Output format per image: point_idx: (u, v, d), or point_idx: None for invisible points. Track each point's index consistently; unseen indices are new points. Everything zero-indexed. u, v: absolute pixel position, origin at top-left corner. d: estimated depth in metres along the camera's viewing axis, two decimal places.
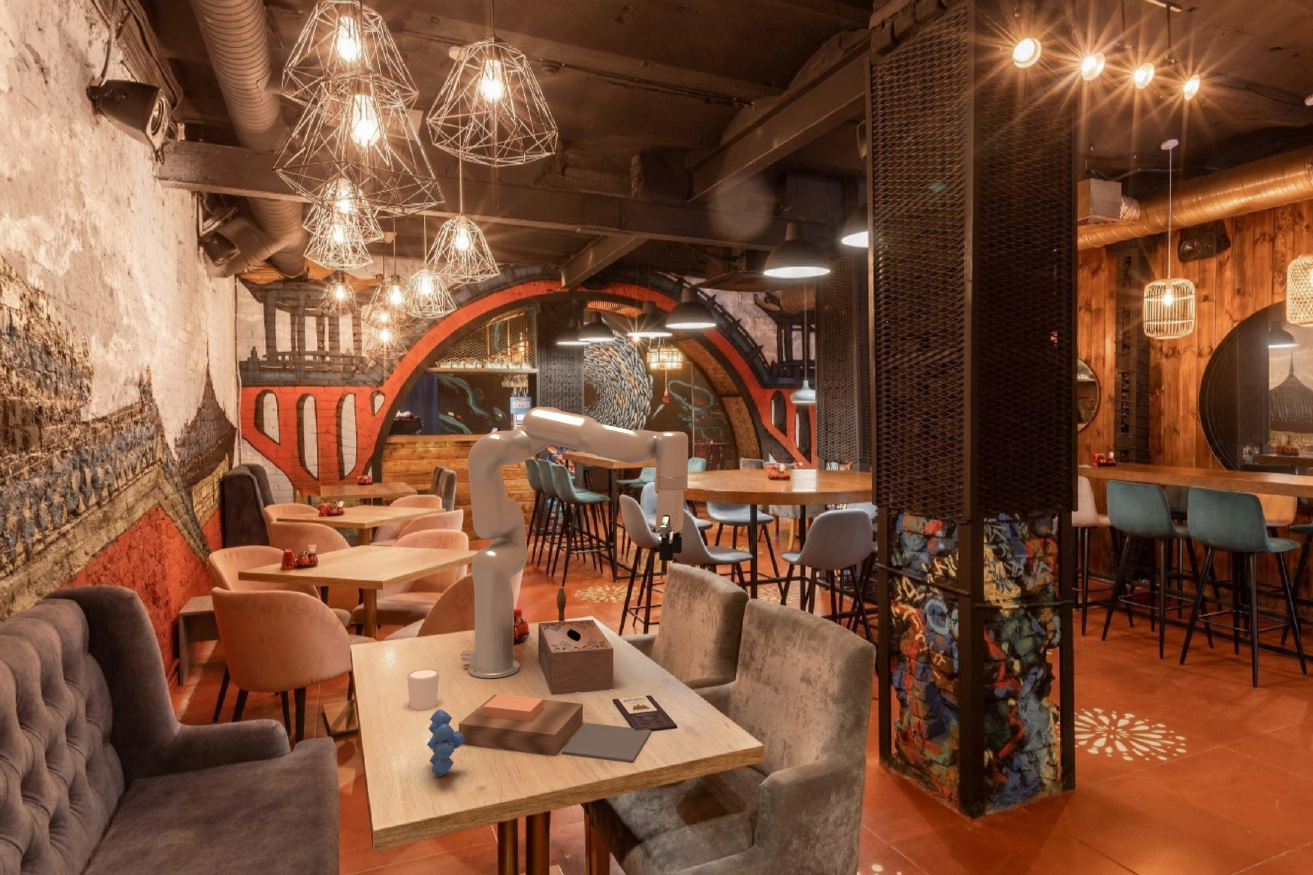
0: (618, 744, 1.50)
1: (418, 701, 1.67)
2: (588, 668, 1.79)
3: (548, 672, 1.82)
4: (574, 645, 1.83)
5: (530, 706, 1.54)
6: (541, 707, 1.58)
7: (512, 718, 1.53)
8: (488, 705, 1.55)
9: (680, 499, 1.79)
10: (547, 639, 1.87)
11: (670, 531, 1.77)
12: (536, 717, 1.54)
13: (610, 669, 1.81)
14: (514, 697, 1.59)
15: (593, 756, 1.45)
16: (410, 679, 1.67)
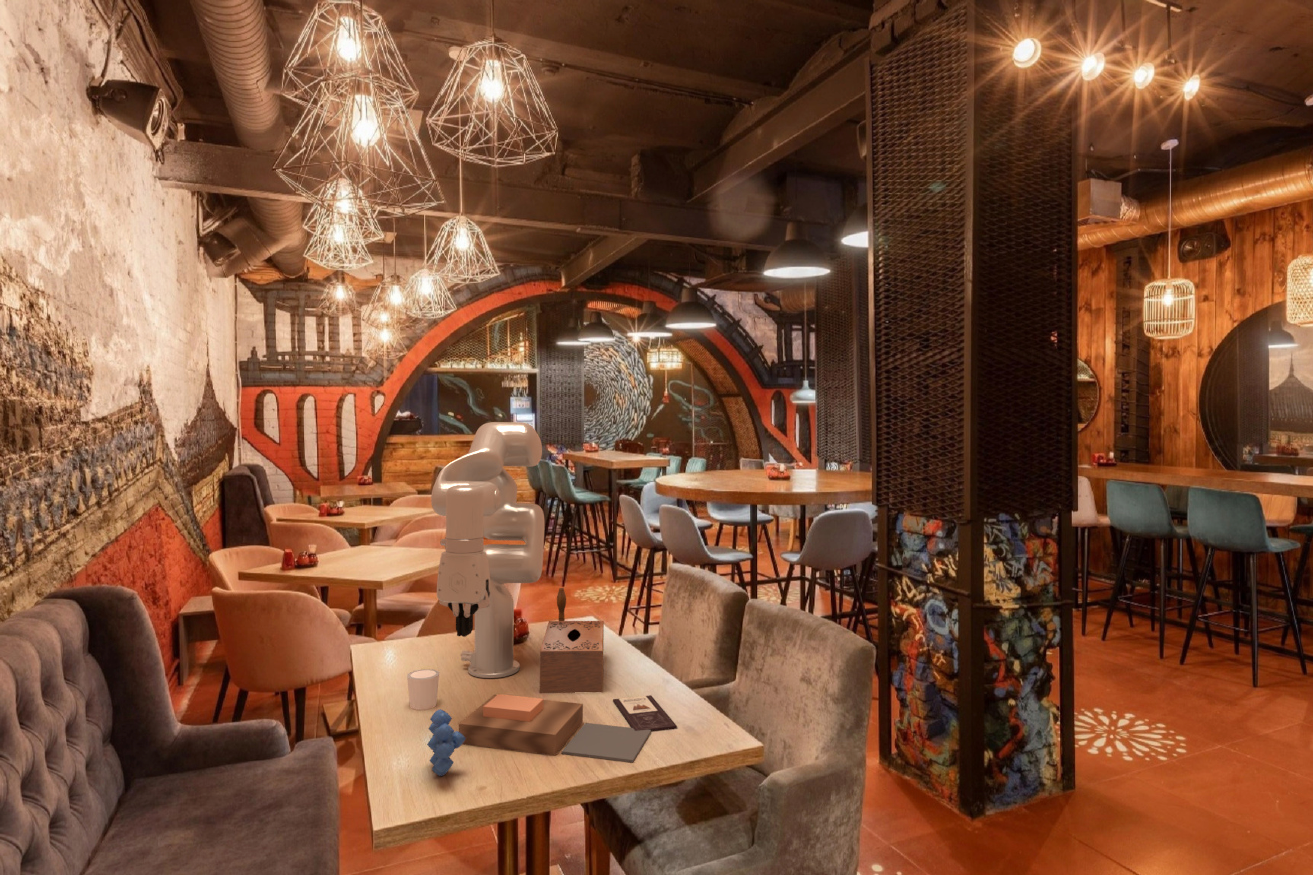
0: (618, 744, 1.50)
1: (418, 701, 1.67)
2: (577, 668, 1.79)
3: None
4: (566, 645, 1.83)
5: (530, 706, 1.54)
6: (541, 707, 1.58)
7: (512, 718, 1.53)
8: (488, 705, 1.55)
9: None
10: (545, 637, 1.89)
11: None
12: (536, 717, 1.54)
13: (599, 671, 1.79)
14: (514, 697, 1.59)
15: (593, 756, 1.45)
16: (410, 679, 1.67)
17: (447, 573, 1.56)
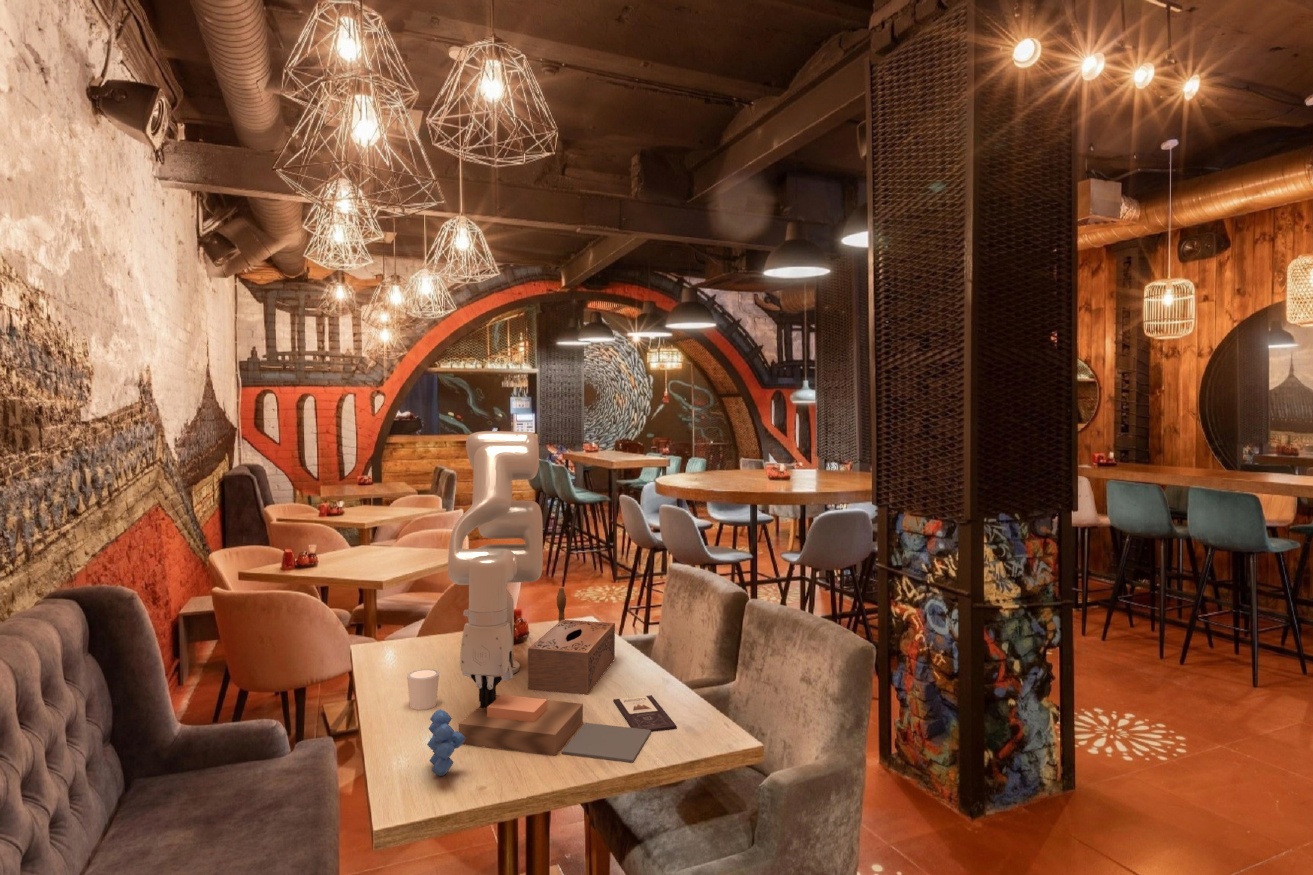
0: (618, 744, 1.50)
1: (418, 701, 1.67)
2: (563, 668, 1.79)
3: None
4: (558, 644, 1.83)
5: (533, 707, 1.54)
6: (545, 708, 1.57)
7: (516, 719, 1.52)
8: (492, 706, 1.54)
9: None
10: (544, 635, 1.90)
11: None
12: None
13: (584, 673, 1.77)
14: (518, 698, 1.59)
15: (593, 756, 1.45)
16: (410, 679, 1.67)
17: (471, 645, 1.55)
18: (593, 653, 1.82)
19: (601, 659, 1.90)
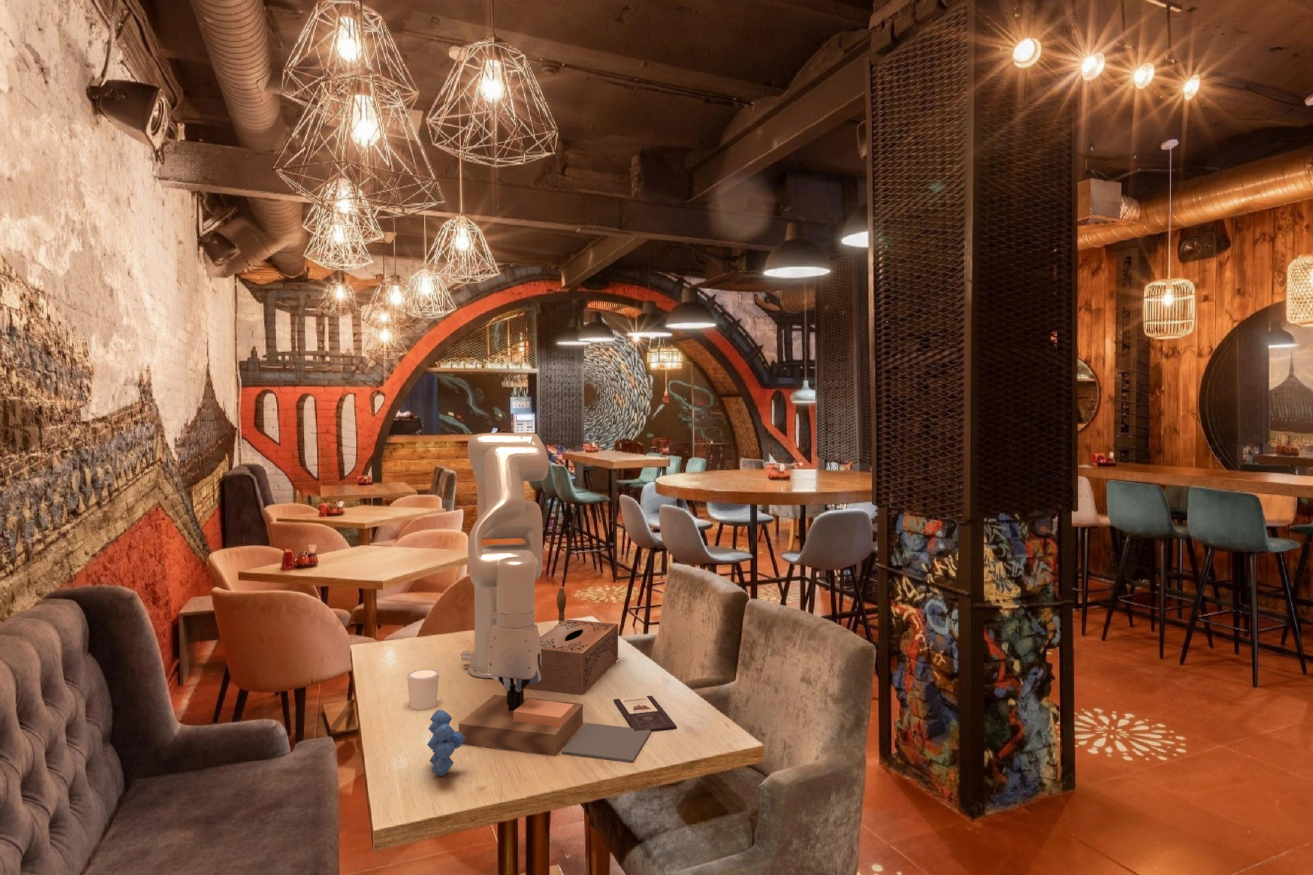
0: (618, 744, 1.50)
1: (418, 701, 1.67)
2: (558, 668, 1.79)
3: None
4: (555, 644, 1.83)
5: (560, 712, 1.51)
6: (571, 713, 1.55)
7: (542, 724, 1.50)
8: (518, 710, 1.52)
9: None
10: (544, 635, 1.91)
11: None
12: None
13: (579, 674, 1.77)
14: (545, 703, 1.56)
15: (593, 756, 1.45)
16: (410, 679, 1.67)
17: (499, 648, 1.54)
18: (590, 654, 1.82)
19: (600, 660, 1.89)
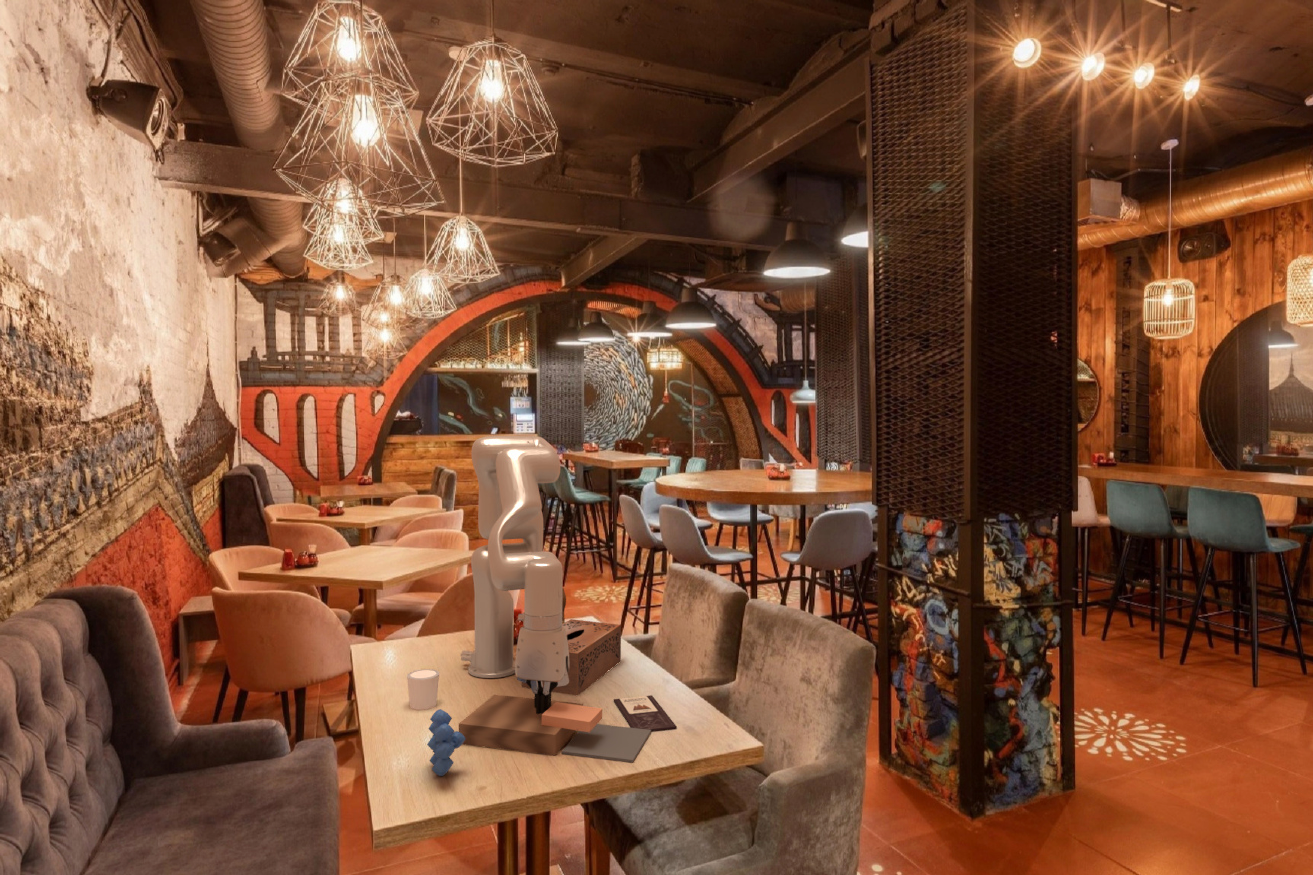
0: (618, 744, 1.50)
1: (418, 701, 1.67)
2: None
3: None
4: None
5: (589, 716, 1.50)
6: (600, 717, 1.53)
7: (571, 728, 1.48)
8: (546, 713, 1.51)
9: None
10: None
11: None
12: (536, 717, 1.54)
13: (574, 674, 1.77)
14: (573, 706, 1.55)
15: (593, 756, 1.45)
16: (410, 679, 1.67)
17: (527, 650, 1.52)
18: (586, 654, 1.81)
19: (599, 660, 1.88)
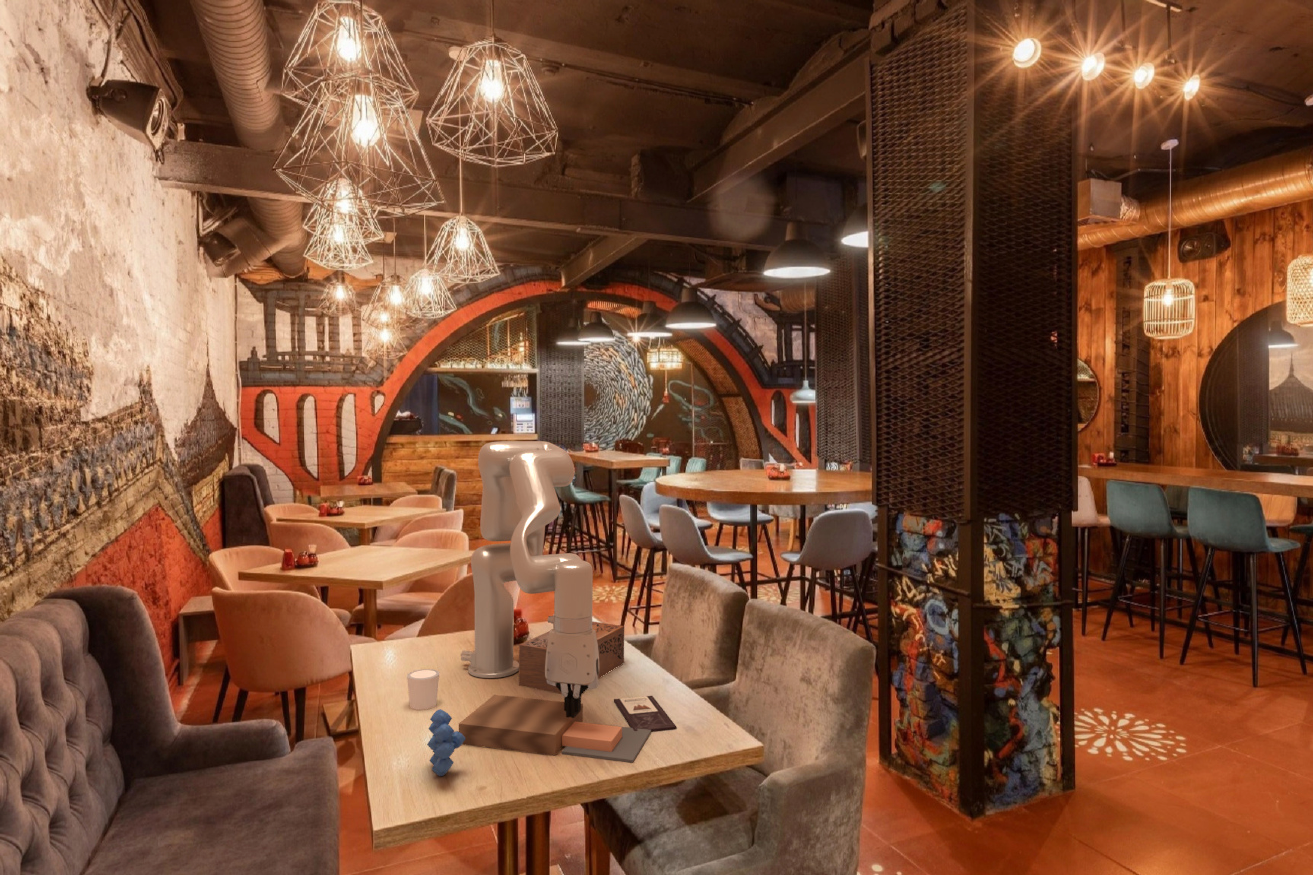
0: (618, 744, 1.50)
1: (418, 701, 1.67)
2: None
3: None
4: None
5: (610, 736, 1.49)
6: (620, 736, 1.52)
7: (592, 748, 1.48)
8: (567, 734, 1.50)
9: None
10: (546, 633, 1.92)
11: None
12: (536, 717, 1.54)
13: None
14: (592, 725, 1.54)
15: (593, 756, 1.45)
16: (410, 679, 1.67)
17: (557, 653, 1.51)
18: None
19: None
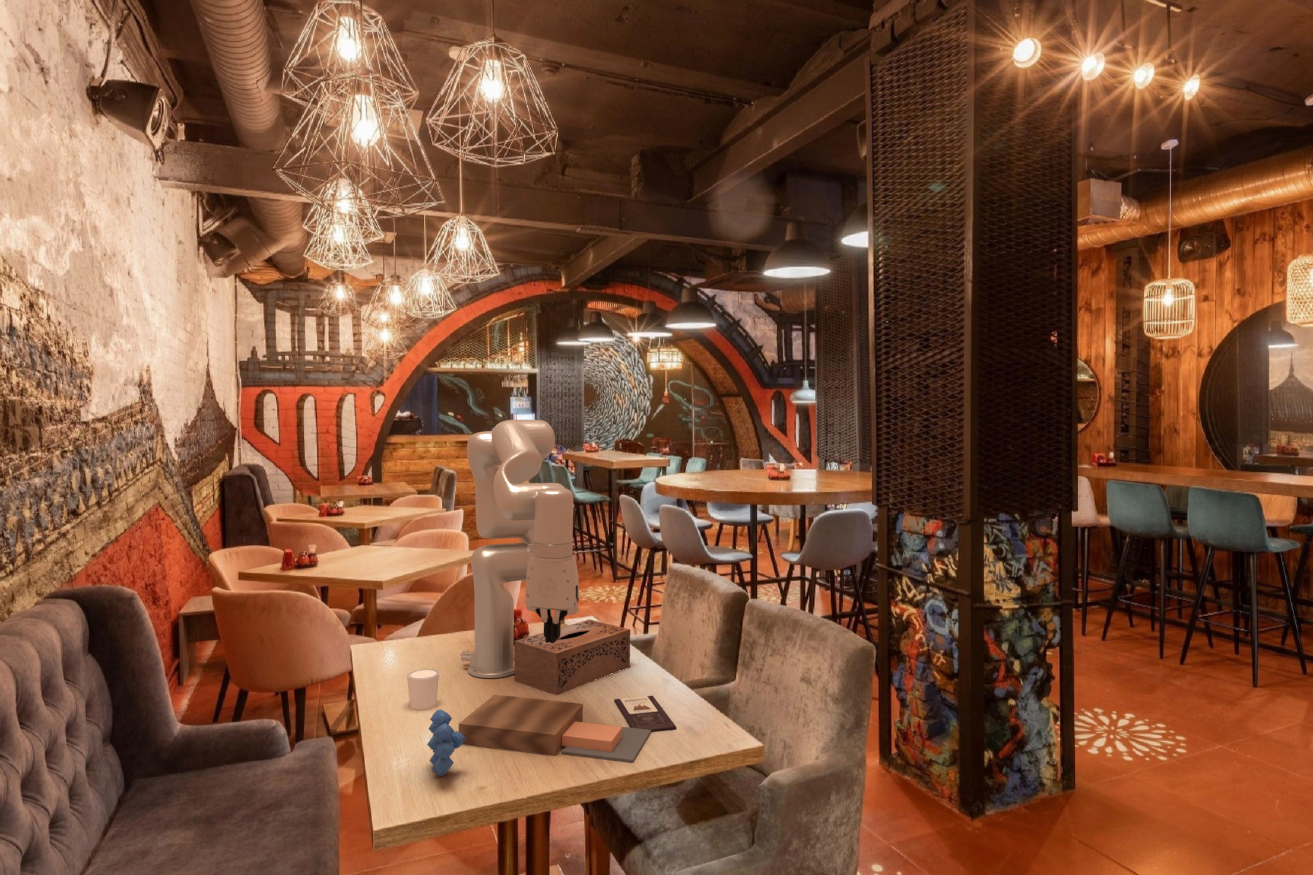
0: (618, 744, 1.50)
1: (418, 701, 1.67)
2: (539, 665, 1.81)
3: None
4: None
5: (610, 736, 1.49)
6: (620, 736, 1.52)
7: (592, 748, 1.48)
8: (567, 734, 1.50)
9: None
10: None
11: None
12: (536, 717, 1.54)
13: (554, 673, 1.77)
14: (592, 725, 1.54)
15: (593, 756, 1.45)
16: (410, 679, 1.67)
17: (537, 578, 1.52)
18: (571, 655, 1.80)
19: (593, 663, 1.86)
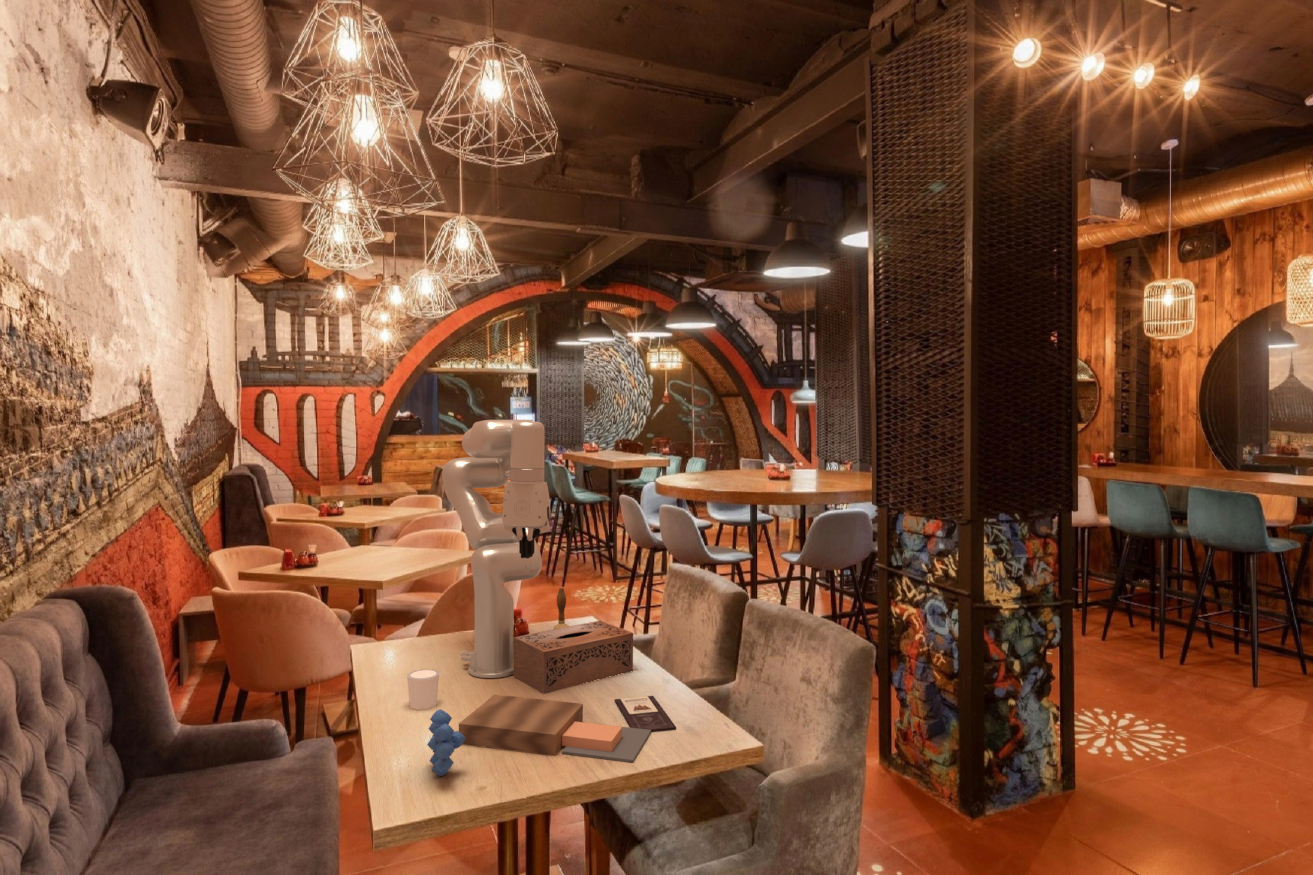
0: (618, 744, 1.50)
1: (418, 701, 1.67)
2: (531, 663, 1.82)
3: None
4: (541, 639, 1.87)
5: (610, 736, 1.49)
6: (620, 736, 1.52)
7: (592, 748, 1.48)
8: (567, 734, 1.50)
9: None
10: (552, 630, 1.95)
11: (537, 527, 1.74)
12: (536, 717, 1.54)
13: (542, 672, 1.78)
14: (592, 725, 1.54)
15: (593, 756, 1.45)
16: (410, 679, 1.67)
17: (512, 500, 1.72)
18: (562, 655, 1.81)
19: (588, 664, 1.85)
